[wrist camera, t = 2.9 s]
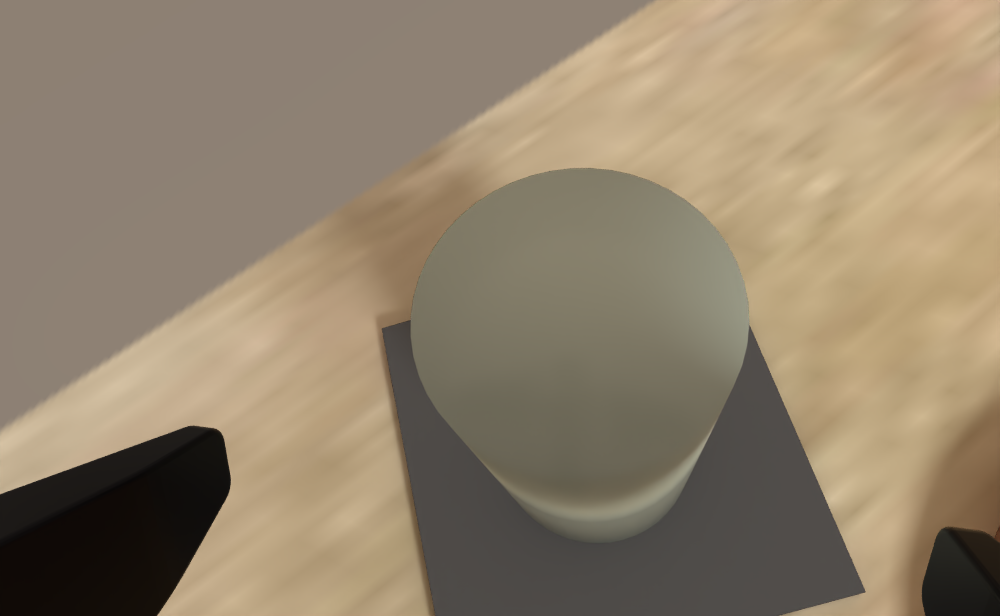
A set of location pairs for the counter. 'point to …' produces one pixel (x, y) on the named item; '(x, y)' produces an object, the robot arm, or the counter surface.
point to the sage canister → (582, 344)
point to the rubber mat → (647, 556)
